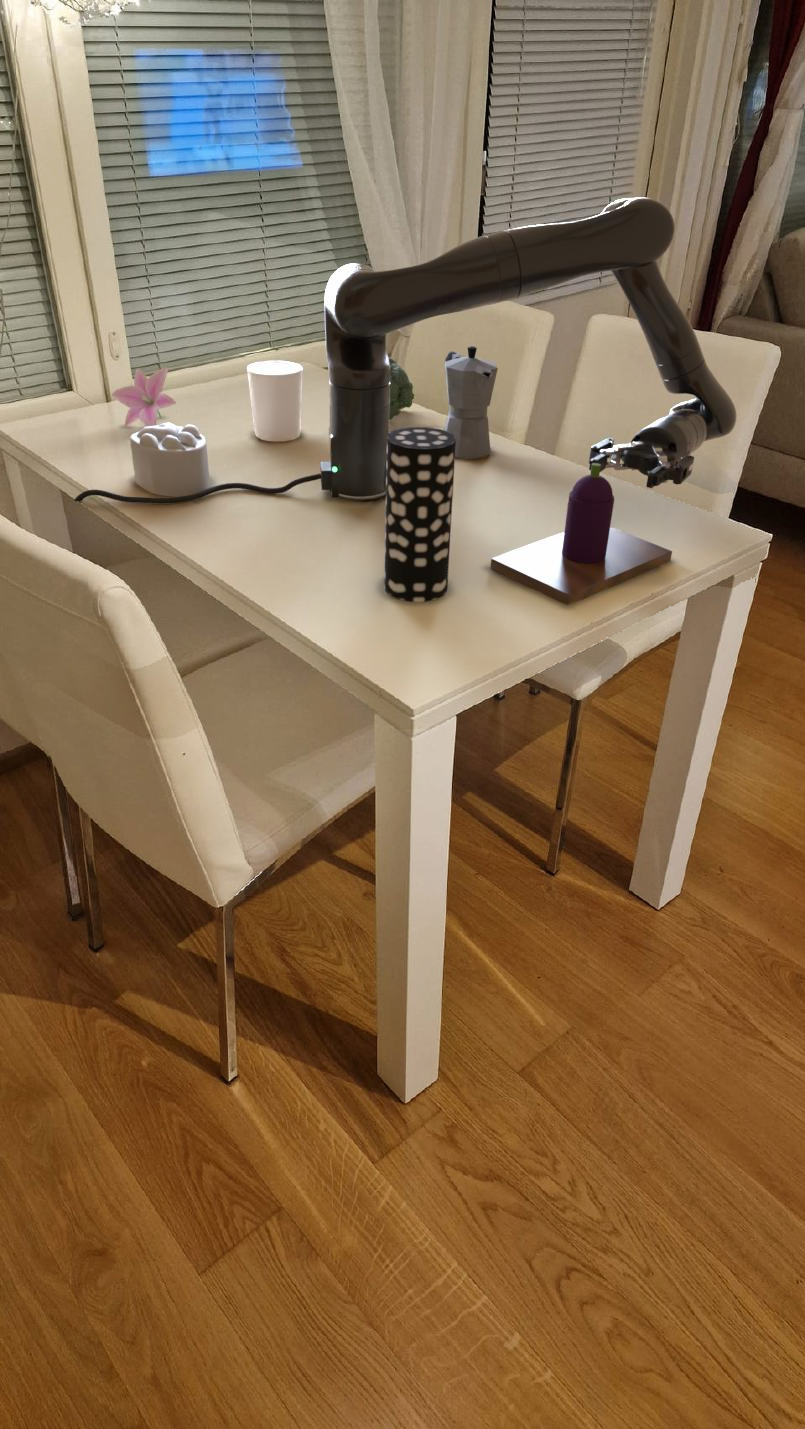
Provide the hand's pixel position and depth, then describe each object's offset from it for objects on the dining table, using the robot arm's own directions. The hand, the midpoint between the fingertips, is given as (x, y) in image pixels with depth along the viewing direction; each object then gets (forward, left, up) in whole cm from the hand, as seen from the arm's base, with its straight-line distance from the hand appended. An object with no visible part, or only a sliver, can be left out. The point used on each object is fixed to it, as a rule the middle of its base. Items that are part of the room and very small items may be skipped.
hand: (621, 474), depth 138 cm
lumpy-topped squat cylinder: (-65, +26, -10) cm, 70 cm away
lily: (-72, +57, -10) cm, 93 cm away
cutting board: (-6, -8, -10) cm, 14 cm away
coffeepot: (-15, +41, -10) cm, 45 cm away
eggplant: (-6, -7, -9) cm, 13 cm away
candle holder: (-48, +50, -10) cm, 71 cm away
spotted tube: (-30, -14, -10) cm, 35 cm away
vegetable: (-28, +60, -10) cm, 68 cm away
